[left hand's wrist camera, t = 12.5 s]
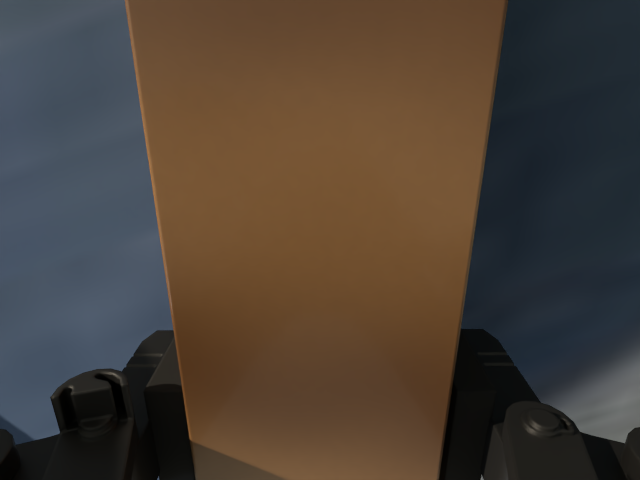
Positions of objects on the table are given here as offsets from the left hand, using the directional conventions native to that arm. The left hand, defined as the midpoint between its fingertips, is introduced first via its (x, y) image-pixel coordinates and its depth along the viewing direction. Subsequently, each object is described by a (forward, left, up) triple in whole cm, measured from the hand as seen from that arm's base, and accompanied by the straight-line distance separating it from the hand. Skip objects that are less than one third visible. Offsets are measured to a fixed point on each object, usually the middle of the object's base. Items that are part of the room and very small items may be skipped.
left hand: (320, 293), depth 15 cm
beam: (+11, +33, -1) cm, 34 cm away
